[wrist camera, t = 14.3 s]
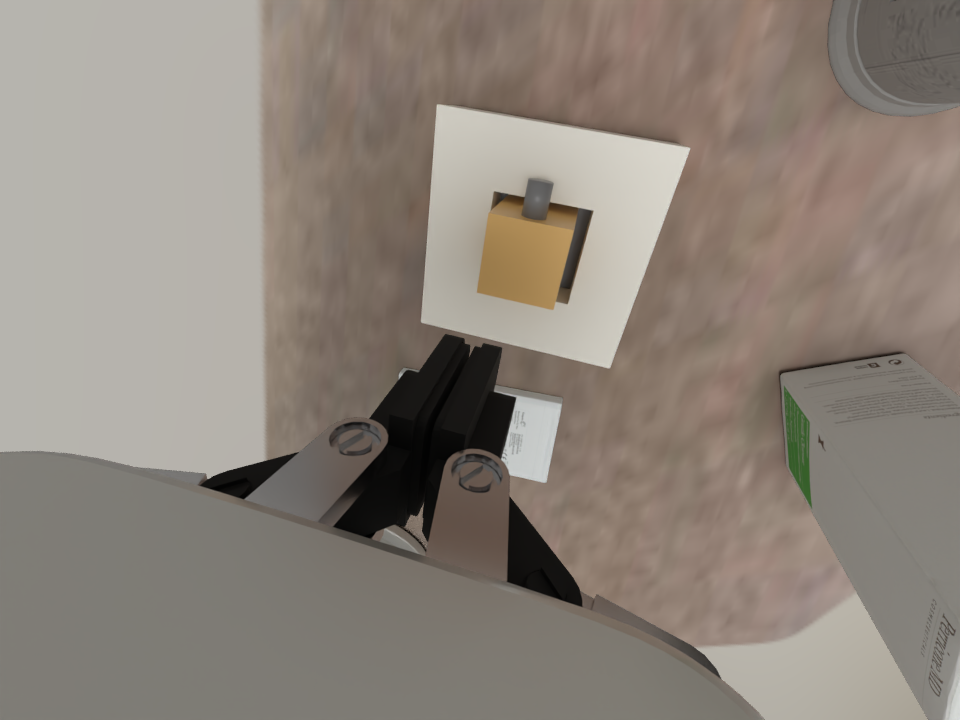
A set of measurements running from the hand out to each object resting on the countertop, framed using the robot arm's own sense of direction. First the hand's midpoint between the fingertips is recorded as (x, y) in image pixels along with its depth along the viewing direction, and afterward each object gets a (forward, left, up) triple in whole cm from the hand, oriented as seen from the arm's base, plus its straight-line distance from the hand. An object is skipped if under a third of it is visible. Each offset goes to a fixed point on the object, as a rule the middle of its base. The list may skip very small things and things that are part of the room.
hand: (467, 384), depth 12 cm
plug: (+1, 0, -15) cm, 15 cm away
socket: (0, 0, -16) cm, 16 cm away
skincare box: (-7, -21, -16) cm, 27 cm away
